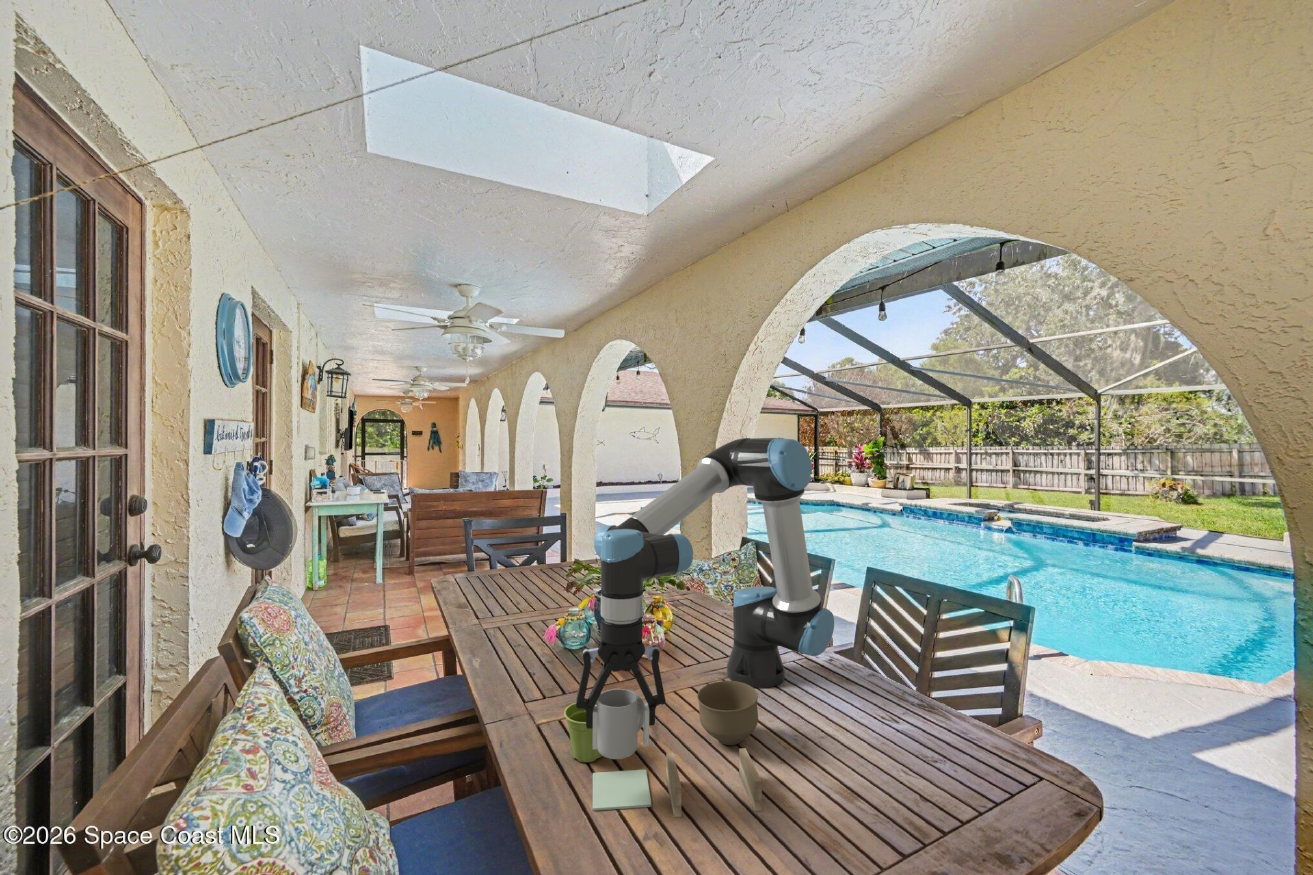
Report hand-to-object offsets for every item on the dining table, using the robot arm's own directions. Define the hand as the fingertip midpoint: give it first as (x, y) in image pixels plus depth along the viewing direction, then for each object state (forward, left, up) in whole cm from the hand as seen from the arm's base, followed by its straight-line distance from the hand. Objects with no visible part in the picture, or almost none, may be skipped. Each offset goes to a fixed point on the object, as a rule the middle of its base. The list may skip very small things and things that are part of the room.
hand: (620, 743), depth 99 cm
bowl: (-23, -14, -9) cm, 28 cm away
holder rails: (-16, +3, -8) cm, 18 cm away
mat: (0, 0, -8) cm, 8 cm away
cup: (0, 0, 0) cm, 1 cm away
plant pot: (+6, -12, -9) cm, 16 cm away
